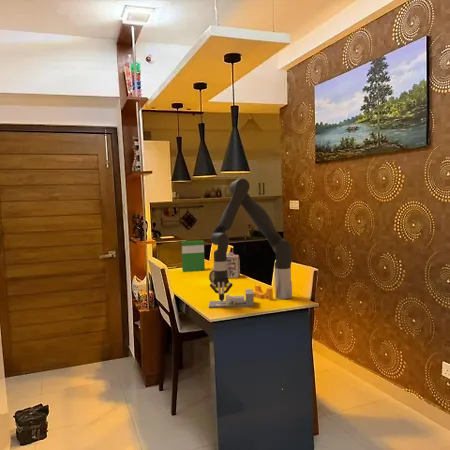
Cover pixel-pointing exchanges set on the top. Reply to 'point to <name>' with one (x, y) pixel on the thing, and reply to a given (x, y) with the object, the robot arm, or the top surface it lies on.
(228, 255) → the decorative jar
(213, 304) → the base
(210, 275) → the alarm clock
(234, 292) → the top surface
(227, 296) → the block
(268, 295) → the pipe clamp
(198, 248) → the hardback book
